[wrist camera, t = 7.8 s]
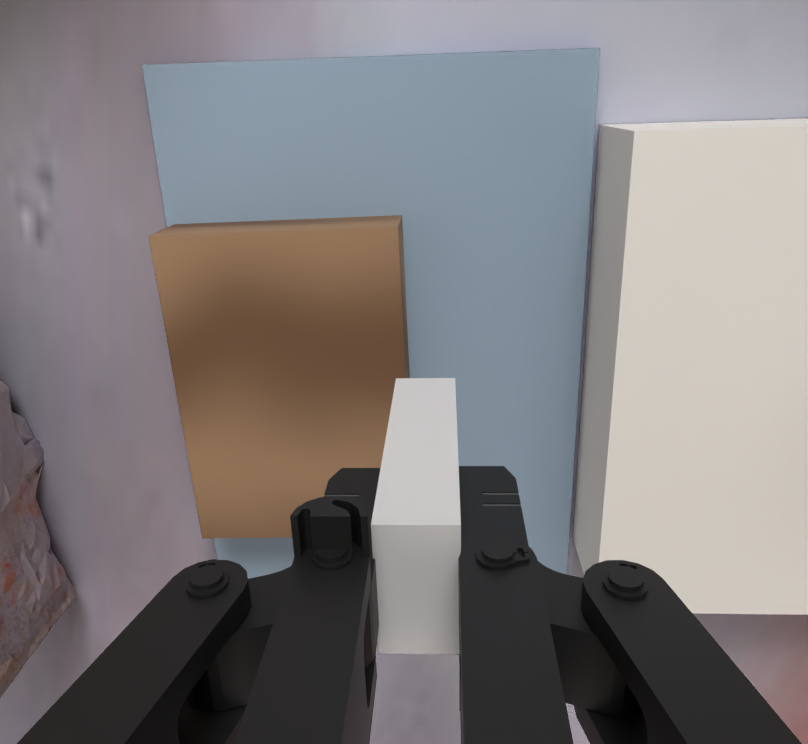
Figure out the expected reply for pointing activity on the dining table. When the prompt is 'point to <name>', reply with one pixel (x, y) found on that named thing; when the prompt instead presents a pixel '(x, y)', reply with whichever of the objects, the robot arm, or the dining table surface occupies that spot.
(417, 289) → the mat
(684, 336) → the plate
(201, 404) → the tile
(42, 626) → the food item
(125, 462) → the dining table surface
